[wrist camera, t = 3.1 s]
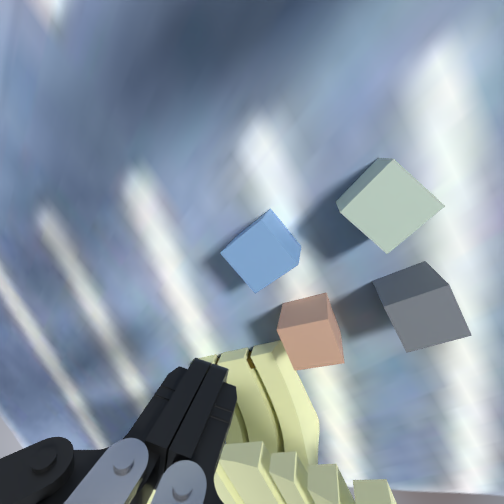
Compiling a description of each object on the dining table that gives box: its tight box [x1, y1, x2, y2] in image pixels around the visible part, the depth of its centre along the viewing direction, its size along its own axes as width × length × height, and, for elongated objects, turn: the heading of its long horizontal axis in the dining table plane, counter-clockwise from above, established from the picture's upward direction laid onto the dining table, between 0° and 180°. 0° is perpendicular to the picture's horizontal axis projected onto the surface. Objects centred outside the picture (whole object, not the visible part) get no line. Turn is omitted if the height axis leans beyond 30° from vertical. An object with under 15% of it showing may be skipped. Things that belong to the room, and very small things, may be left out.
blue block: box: [220, 209, 301, 293], centre depth 25 cm, size 5×5×5 cm
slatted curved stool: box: [147, 340, 397, 504], centre depth 27 cm, size 30×16×18 cm, turn 115°
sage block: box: [336, 158, 445, 254], centre depth 22 cm, size 5×5×5 cm
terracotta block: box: [277, 293, 344, 371], centre depth 27 cm, size 5×5×5 cm
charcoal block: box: [372, 261, 471, 352], centre depth 24 cm, size 5×5×5 cm
